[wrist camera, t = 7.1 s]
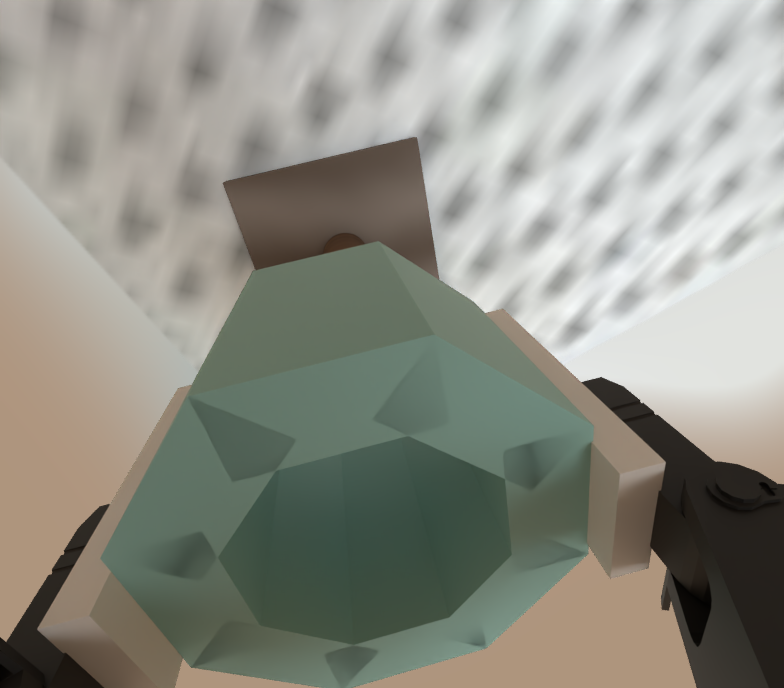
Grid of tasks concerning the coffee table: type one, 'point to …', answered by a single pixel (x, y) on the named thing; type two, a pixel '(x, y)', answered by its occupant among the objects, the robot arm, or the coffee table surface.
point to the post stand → (337, 207)
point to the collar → (355, 481)
